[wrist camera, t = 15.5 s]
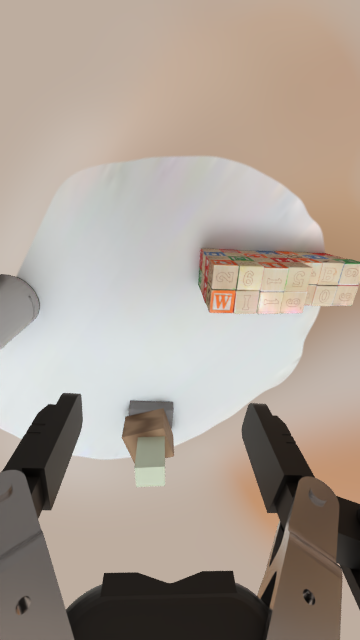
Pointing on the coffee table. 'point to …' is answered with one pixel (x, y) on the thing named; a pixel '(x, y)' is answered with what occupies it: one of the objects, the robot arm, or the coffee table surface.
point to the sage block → (150, 461)
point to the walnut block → (147, 430)
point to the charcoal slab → (151, 408)
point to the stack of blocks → (275, 281)
